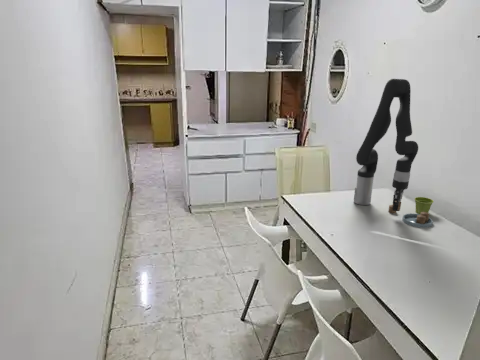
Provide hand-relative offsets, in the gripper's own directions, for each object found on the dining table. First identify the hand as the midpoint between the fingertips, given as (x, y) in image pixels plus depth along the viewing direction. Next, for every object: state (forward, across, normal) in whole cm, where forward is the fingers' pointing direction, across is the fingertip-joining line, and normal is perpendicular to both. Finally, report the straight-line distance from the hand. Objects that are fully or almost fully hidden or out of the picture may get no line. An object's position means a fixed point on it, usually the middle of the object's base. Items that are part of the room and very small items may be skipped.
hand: (395, 209), depth 184 cm
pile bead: (+6, -8, -3) cm, 11 cm away
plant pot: (+6, -16, +11) cm, 21 cm away
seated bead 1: (+5, +2, +13) cm, 14 cm away
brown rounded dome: (0, 0, 0) cm, 0 cm away
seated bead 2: (+5, -4, +14) cm, 15 cm away
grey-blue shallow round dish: (+6, -2, +11) cm, 13 cm away
